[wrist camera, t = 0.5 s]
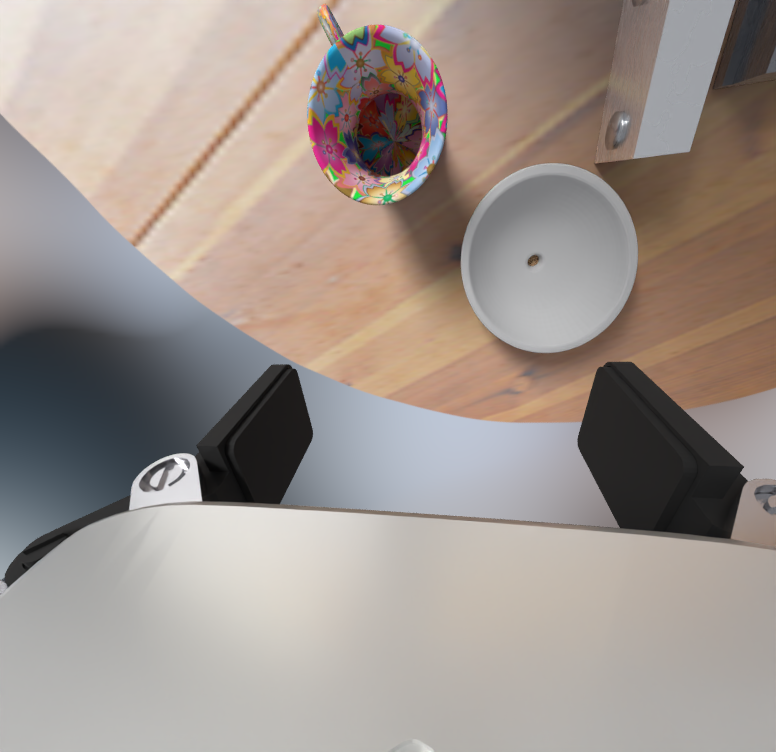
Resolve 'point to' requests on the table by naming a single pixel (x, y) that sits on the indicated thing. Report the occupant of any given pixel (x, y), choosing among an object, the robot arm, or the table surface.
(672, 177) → the table surface
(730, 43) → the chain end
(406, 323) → the table surface
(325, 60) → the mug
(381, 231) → the table surface
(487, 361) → the table surface
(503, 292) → the dish
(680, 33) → the gray trapezoid plate
